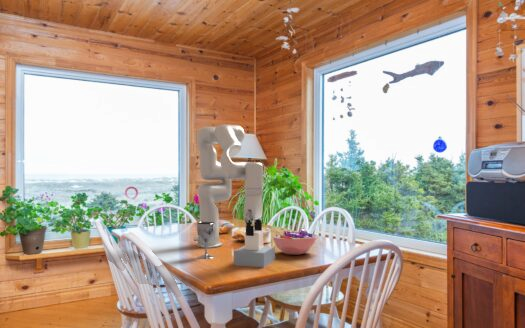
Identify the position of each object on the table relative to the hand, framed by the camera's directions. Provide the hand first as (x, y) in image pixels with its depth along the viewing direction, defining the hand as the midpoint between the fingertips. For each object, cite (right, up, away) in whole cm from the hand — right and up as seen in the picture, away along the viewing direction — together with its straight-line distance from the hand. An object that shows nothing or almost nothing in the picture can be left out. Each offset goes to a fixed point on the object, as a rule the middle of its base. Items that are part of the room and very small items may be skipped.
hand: (254, 233), depth 158 cm
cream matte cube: (0, -6, 0) cm, 6 cm away
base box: (0, -12, -1) cm, 12 cm away
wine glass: (-21, -12, +10) cm, 27 cm away
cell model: (+18, -12, +14) cm, 26 cm away
